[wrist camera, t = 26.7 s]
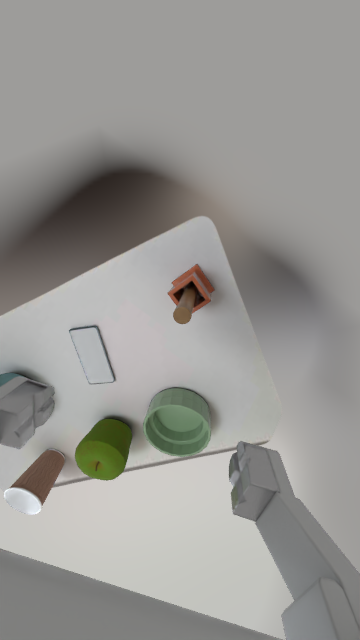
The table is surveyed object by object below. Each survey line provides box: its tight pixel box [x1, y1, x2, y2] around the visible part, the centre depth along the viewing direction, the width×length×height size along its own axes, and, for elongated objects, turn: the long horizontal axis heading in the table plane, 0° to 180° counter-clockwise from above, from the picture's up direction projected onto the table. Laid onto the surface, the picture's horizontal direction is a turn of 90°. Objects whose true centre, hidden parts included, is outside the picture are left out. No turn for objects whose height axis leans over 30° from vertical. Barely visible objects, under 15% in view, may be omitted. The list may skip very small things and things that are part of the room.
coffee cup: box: [4, 449, 65, 514], centre depth 57 cm, size 10×10×12 cm
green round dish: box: [143, 388, 211, 457], centre depth 48 cm, size 15×15×6 cm
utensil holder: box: [168, 264, 214, 313], centre depth 35 cm, size 6×6×10 cm
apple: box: [75, 419, 132, 480], centre depth 50 cm, size 12×12×11 cm
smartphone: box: [69, 326, 115, 384], centre depth 48 cm, size 7×1×15 cm
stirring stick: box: [173, 281, 198, 324], centre depth 30 cm, size 2×2×18 cm
